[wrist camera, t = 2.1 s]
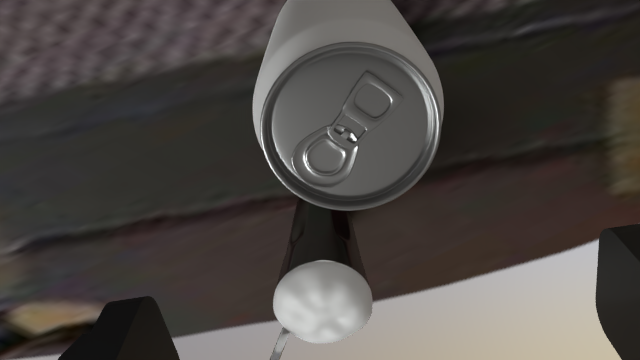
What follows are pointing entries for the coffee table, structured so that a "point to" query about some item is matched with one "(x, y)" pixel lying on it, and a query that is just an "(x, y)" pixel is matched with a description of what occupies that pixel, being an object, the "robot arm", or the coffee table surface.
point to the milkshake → (321, 279)
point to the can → (347, 103)
